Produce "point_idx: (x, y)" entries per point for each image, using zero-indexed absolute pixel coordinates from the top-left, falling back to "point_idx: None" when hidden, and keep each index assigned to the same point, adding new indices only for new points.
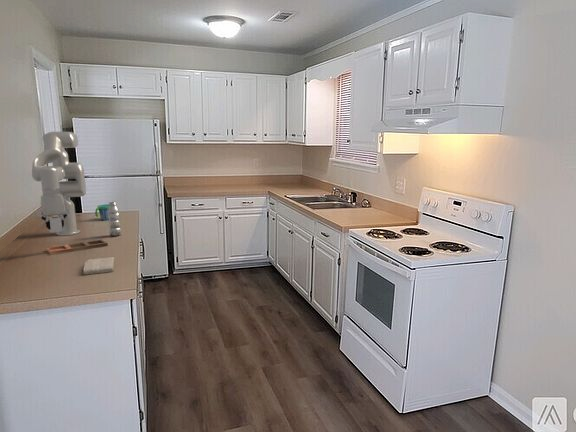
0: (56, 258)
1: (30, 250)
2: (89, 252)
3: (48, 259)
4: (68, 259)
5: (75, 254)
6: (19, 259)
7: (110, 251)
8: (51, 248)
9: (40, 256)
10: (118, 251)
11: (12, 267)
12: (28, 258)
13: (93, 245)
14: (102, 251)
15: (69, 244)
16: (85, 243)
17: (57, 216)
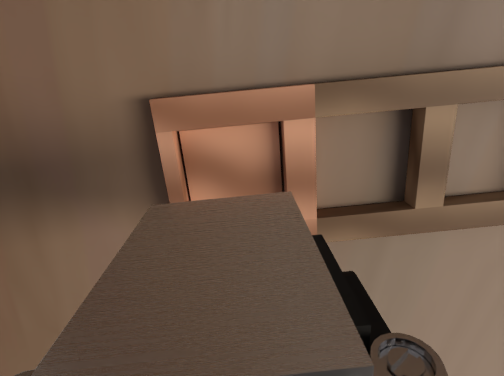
0: None
1: (30, 4)
2: (382, 303)
3: None
4: None
5: None
6: (13, 245)
7: (471, 338)
8: (191, 127)
9: None
10: (499, 357)
11: (19, 372)
12: (64, 251)
13: (451, 229)
14: (442, 319)
15: (327, 96)
16: (433, 140)
17: (326, 371)
